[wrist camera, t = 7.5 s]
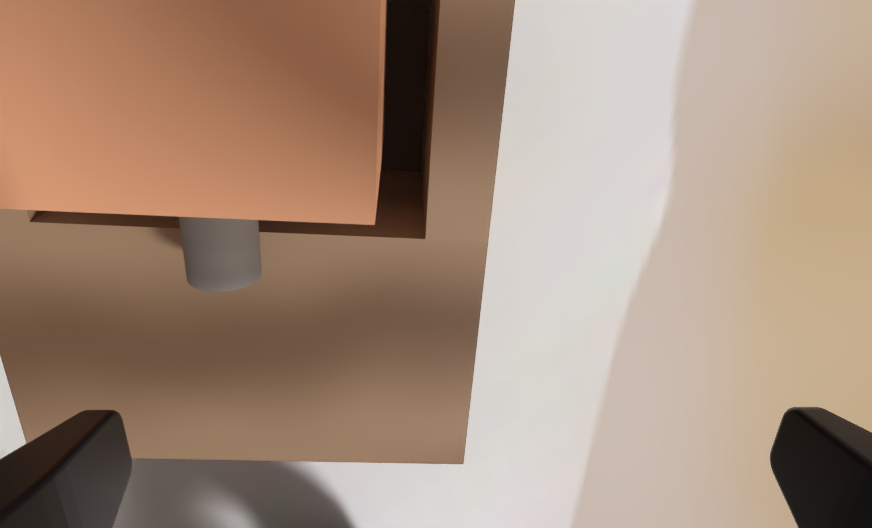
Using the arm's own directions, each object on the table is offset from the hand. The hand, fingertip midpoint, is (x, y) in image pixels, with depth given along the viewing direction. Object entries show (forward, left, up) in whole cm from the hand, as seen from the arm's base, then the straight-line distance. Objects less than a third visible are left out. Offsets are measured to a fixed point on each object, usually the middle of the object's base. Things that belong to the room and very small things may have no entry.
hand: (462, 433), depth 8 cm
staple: (-1, +6, -10) cm, 12 cm away
